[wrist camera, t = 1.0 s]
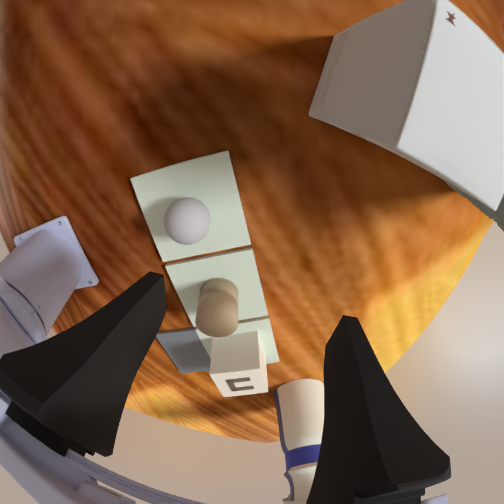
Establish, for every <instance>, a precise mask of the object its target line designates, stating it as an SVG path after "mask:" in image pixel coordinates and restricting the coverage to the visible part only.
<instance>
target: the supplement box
mask: <svg viewBox="0 0 504 504" xmlns="http://www.w3.org/2000/svg"><path fill="white" fill-rule="evenodd" d="M308 115H309V116H310V117H312V118H315V119H318V120H320V121H323V122H325V123H328V124H330V125H333V126H335V127H338V128H340V129H343V130H345V131H347V132H350V133H352V134H354V135H356V136H359V137H361V138H363V139H365V140H367V141H369V142H372V143H374V144H376V145H378V146H380V147H382V148H384V149H386V150H389V151H391V152H393V153H395V154H397V155H399V156H401V157H403V158H405V159H407V160H408V161H410V162H412V163H414V164H416V165H418V166H420V167H421V168H423V169H425V170H427V171H429V172H431V173H432V174H434V175H436V176H438V177H440V178H441V179H443V180H445V181H446V182H448V183H450V184H451V185H453V186H455V187H457V188H458V189H460V190H461V191H463V192H465V193H466V194H468V195H470V196H471V197H473V198H475V199H476V200H478V201H479V202H481V203H483V204H484V205H486V206H487V207H489V208H490V209H492V210H494V211H496V210H497V208H498V206H499V204H500V201H501V199H502V197H503V194H504V53H503V52H502V51H501V50H500V49H499V48H498V47H497V45H496V44H495V43H494V42H493V41H492V40H491V39H490V38H489V37H488V36H487V35H486V34H485V33H484V32H483V31H482V30H481V29H480V28H479V27H478V26H477V25H476V24H475V23H474V22H473V21H472V20H471V19H470V18H469V17H467V16H466V15H465V14H464V13H463V12H462V11H461V10H460V9H458V8H457V7H456V6H455V5H454V4H452V3H451V2H450V1H449V0H405V1H403V2H400V3H398V4H396V5H394V6H391V7H389V8H387V9H385V10H382V11H380V12H378V13H376V14H374V15H372V16H370V17H368V18H366V19H364V20H362V21H360V22H358V23H356V24H354V25H352V26H350V27H348V28H347V29H345V30H343V31H341V32H339V33H338V34H336V35H334V38H333V41H332V44H331V47H330V50H329V53H328V56H327V59H326V62H325V65H324V68H323V71H322V74H321V77H320V80H319V83H318V86H317V89H316V92H315V95H314V98H313V101H312V104H311V107H310V110H309V113H308Z"/></svg>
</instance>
